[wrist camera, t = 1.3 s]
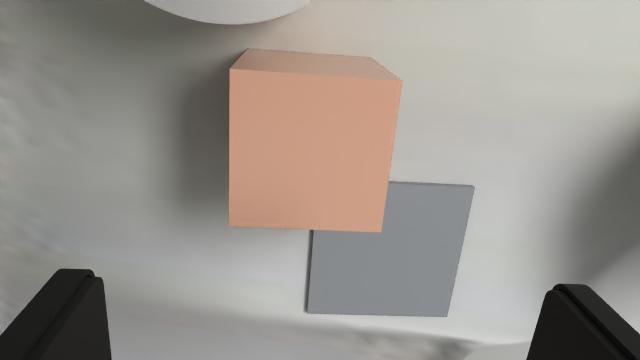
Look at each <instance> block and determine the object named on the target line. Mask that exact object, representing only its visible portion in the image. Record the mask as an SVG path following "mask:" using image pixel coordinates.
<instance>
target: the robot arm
mask: <svg viewBox="0 0 640 360" xmlns="http://www.w3.org/2000/svg"><path fill="white" fill-rule="evenodd" d="M0 360H112V359H111V349H110V340H109V330H108V321H107V311H106V302H105V292H104V284H103V280H102V278H101V277H95V275H94V273H93V271H92V270H90V269H59V270H58V271H57V272H56V273H55V274H54V275H53V276H52V277H51V278H50V279H49V281H48V282H47V283H46V284H45V285H44V286H43V287H42V289H41V290H40V291H39V292H38V293H37V294H36V295H35V297H34V298H33V299H32V300H31V301H30V302H29V303H28V305H27V306H26V307H25V308H24V309H23V310H22V311H21V313H20V314H19V315H18V316H17V317H16V318H15V319H14V321H13V322H12V323H11V324H10V325H9V326H8V327H7V329H6V330H5V331H4V332H3V333H2V334H1V335H0ZM526 360H640V334H639V333H638V332H637V331H636V330H635V329H634V328H632V327H631V326H630V325H629V324H628V323H627V322H626V321H625V320H624V319H623V318H622V317H621V316H620V315H619V314H618V313H616V312H615V311H614V310H613V309H612V308H611V307H610V306H609V305H608V304H607V303H606V302H605V301H604V300H603V299H602V298H601V297H599V296H598V295H597V294H596V293H595V292H594V291H593V290H592V289H591V288H590V287H588V286H587V285H582V284H557V285H555V286H554V287H553V289H552V290H550V291H548V292H547V293H546V295H545V298H544V301H543V305H542V308H541V311H540V315H539V318H538V322H537V325H536V329H535V332H534V335H533V339H532V342H531V346H530V349H529V353H528V356H527V359H526Z"/></svg>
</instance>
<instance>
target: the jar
mask: <svg viewBox="0 0 640 360" xmlns="http://www.w3.org/2000/svg"><path fill="white" fill-rule="evenodd" d="M144 1H146V2H148V3H149V4H151V5H153V6H155V7H158V8H160V9H162V10H164V11H167V12H169V13H172V14H175V15H178V16H181V17H184V18H188V19H191V20H196V21H201V22H206V23H214V24H229V25H234V24H250V23H257V22H263V21H267V20H272V19H275V18H279V17H282V16H285V15H287V14H290V13H293V12H295V11H297V10H299V9H302V8H304V7H306V6H307V5H308V4H309V3H310V1H311V0H144Z"/></svg>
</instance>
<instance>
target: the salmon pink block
mask: <svg viewBox="0 0 640 360" xmlns="http://www.w3.org/2000/svg"><path fill="white" fill-rule="evenodd" d="M401 88H402V80H401V79H400V78H398V77H397V76H395V75H394V74H393V73H391V72H390V71H389V70H387V69H386V68H385V67H383V66H382V65H380V64H379V63H378V62H376V61H375V60H374V59H372V58H370V57H356V56H342V55H328V54H314V53H301V52H287V51H273V50H259V49H247V50H246V51H245V52H244V53H243V54H242V55H241V57H240V58H239V59H238V60H237V61H236V62H235V63H234V64H233V66H232V67H231V68H230V92H229V226H236V227H260V228H284V229H309V230H333V231H358V232H381V231H382V224H383V217H384V210H385V202H386V195H387V188H388V181H389V174H390V167H391V159H392V152H393V145H394V138H395V131H396V124H397V117H398V109H399V102H400V95H401Z"/></svg>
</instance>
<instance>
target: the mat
mask: <svg viewBox="0 0 640 360" xmlns="http://www.w3.org/2000/svg"><path fill="white" fill-rule="evenodd" d="M474 189H475V188H474V187H473V186H472V185H454V184H434V183H414V182H394V181H388V188H387V195H386V202H385V210H384V217H383V224H382V231H381V232H358V231H333V230H314V231H313V243H312V256H311V268H310V281H309V293H308V306H307V313H309V314H348V315H386V316H425V317H447V315H448V310H449V306H450V301H451V296H452V292H453V287H454V282H455V278H456V273H457V268H458V264H459V259H460V254H461V250H462V245H463V240H464V236H465V231H466V226H467V222H468V217H469V212H470V208H471V203H472V198H473V194H474Z"/></svg>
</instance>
